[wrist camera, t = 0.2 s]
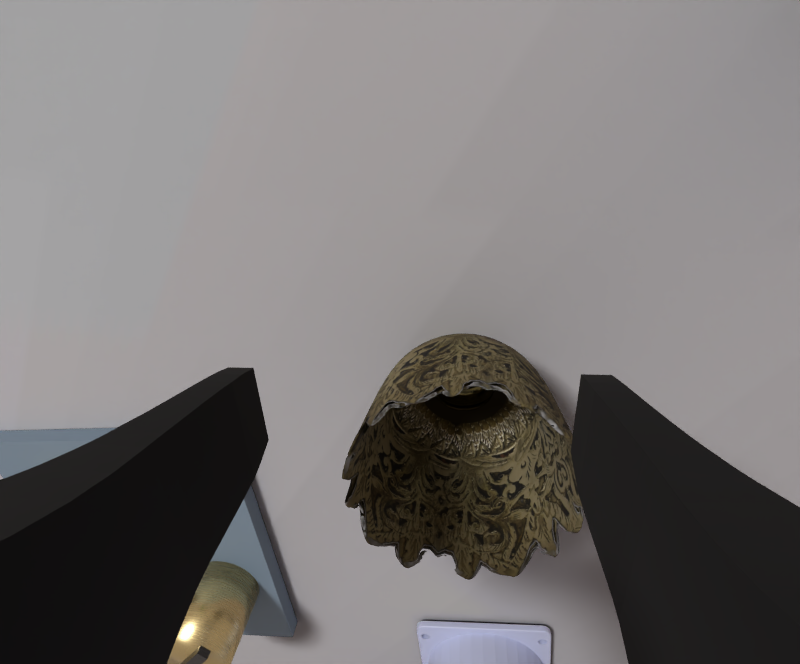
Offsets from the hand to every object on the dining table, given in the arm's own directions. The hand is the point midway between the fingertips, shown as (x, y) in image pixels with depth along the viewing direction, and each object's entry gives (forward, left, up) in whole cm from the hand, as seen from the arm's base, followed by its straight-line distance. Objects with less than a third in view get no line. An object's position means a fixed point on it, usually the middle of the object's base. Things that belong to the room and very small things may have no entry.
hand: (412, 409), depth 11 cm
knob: (-19, +14, -9) cm, 25 cm away
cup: (-5, -1, -10) cm, 11 cm away
